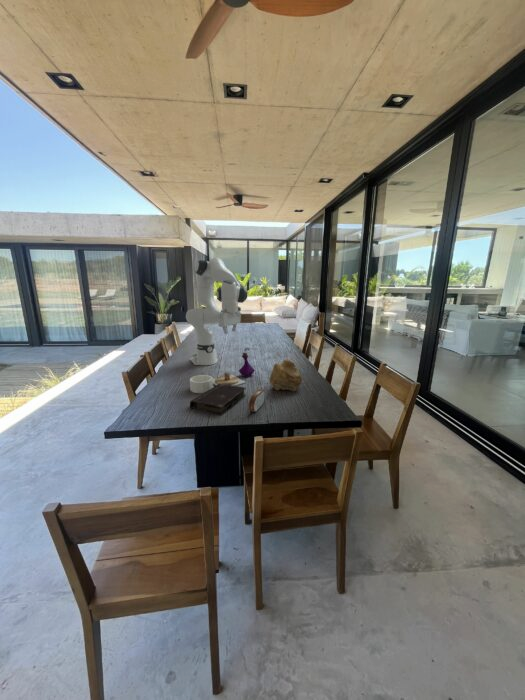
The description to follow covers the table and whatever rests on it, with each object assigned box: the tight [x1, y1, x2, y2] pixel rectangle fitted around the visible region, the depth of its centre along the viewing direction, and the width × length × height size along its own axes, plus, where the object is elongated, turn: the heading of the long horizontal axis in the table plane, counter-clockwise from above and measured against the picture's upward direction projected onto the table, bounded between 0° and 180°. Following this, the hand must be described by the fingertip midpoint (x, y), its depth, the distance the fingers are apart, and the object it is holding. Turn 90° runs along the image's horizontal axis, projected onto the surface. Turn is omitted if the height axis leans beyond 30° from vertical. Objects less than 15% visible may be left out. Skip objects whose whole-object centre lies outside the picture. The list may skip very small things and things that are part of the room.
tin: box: [248, 388, 266, 413], centre depth 141 cm, size 15×3×8 cm, turn 158°
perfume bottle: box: [238, 347, 255, 378], centre depth 185 cm, size 8×8×18 cm
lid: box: [214, 371, 240, 385], centre depth 175 cm, size 14×14×5 cm
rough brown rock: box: [269, 358, 303, 392], centre depth 165 cm, size 23×17×15 cm
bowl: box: [189, 374, 214, 394], centre depth 164 cm, size 12×12×6 cm
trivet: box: [213, 374, 247, 386], centre depth 175 cm, size 16×16×1 cm
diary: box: [189, 384, 247, 416], centre depth 148 cm, size 19×25×5 cm
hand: (230, 332), depth 174 cm, fingers open, 8 cm apart
